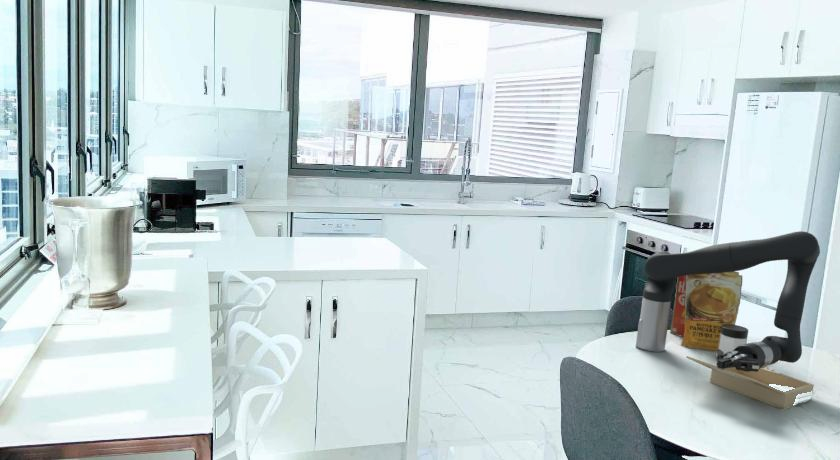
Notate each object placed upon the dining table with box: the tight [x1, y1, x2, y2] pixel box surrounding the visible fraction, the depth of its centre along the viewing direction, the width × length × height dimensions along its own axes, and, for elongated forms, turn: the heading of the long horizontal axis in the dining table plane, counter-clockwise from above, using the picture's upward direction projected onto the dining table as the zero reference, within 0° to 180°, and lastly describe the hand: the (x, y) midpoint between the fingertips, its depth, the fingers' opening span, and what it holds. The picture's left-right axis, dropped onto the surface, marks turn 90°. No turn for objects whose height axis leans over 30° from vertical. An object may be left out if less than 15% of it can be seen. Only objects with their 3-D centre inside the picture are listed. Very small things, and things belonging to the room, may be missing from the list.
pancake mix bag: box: [680, 271, 743, 353], centre depth 242 cm, size 7×19×28 cm, turn 77°
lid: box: [685, 355, 784, 394], centre depth 194 cm, size 16×21×1 cm
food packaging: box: [669, 275, 686, 337], centre depth 257 cm, size 13×9×25 cm
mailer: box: [709, 367, 815, 410], centre depth 204 cm, size 16×22×4 cm
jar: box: [718, 324, 749, 353], centre depth 228 cm, size 9×8×12 cm
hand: (719, 364), depth 188 cm, fingers closed
